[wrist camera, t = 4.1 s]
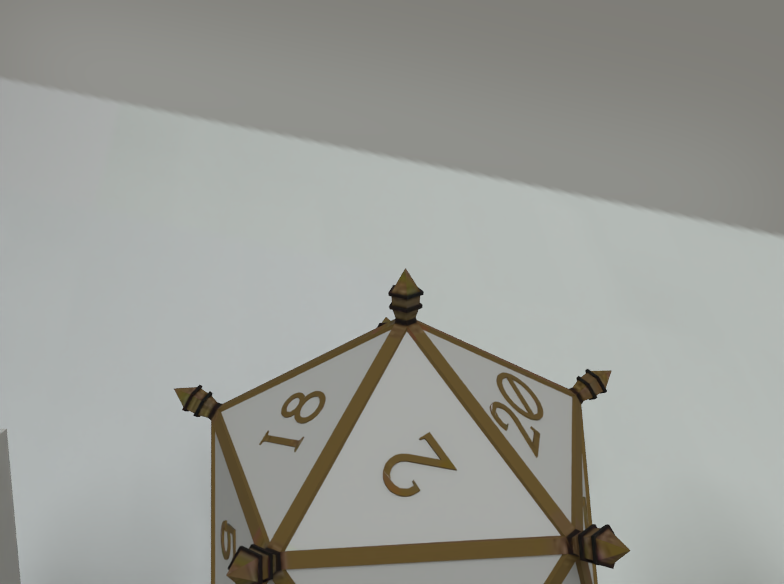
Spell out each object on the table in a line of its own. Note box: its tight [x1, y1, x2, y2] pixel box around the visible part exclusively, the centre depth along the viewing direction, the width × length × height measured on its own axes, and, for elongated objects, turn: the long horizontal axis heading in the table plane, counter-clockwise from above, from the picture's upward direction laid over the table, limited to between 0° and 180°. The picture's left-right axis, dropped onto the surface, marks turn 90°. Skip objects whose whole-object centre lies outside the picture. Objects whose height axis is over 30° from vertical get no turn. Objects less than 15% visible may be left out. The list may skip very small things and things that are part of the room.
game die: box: [174, 268, 630, 584], centre depth 13 cm, size 9×8×10 cm
